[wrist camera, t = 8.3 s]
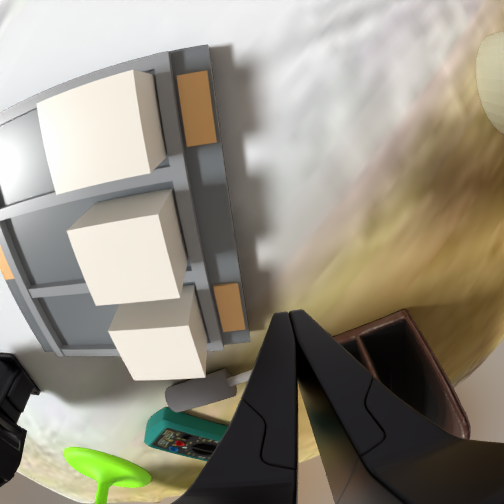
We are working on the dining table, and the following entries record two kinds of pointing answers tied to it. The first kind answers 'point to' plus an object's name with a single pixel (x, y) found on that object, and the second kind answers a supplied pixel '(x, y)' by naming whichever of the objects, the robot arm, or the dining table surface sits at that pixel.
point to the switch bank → (79, 201)
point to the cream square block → (103, 131)
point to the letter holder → (407, 368)
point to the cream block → (131, 248)
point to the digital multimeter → (183, 434)
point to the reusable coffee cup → (492, 78)
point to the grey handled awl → (204, 390)
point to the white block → (162, 337)
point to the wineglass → (106, 470)
